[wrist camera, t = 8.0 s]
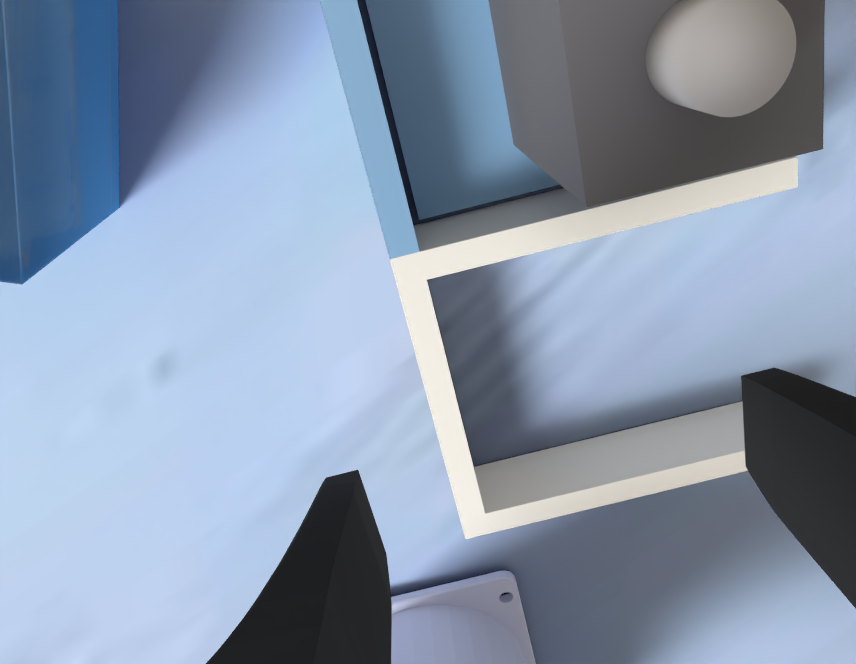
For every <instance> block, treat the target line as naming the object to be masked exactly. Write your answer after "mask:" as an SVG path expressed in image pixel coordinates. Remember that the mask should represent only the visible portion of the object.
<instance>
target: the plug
mask: <svg viewBox="0 0 856 664" xmlns="http://www.w3.org/2000/svg"><path fill="white" fill-rule="evenodd" d="M488 1H489V7H490V12H491V18H492V24H493V30H494V35H495V41H496V47H497V53H498V58H499V64H500V70H501V76H502V81H503V87H504V93H505V98H506V104H507V110H508V116H509V121H510V127H511V133H512V139H513V144H514V146H516V147H517V148H518V149H519V150H520V151H521V152H523V153H524V154H525V155H526V156H527V157H528V158H530V159H531V160H532V161H533V162H534V163H535V164H537V165H538V166H539V167H540V168H541V169H542V170H544V171H545V172H546V173H547V174H548V175H549V176H551V177H552V178H553V179H554V180H555V181H556V182H557V183H559V184H560V185H561V186H562V187H563V188H564V189H566V190H567V191H568V192H569V193H570V194H571V195H573V196H574V197H575V198H576V199H577V200H578V201H580V202H581V203H582V204H583V205H584V206H585V207H591V206H595V205H599V204H603V203H607V202H611V201H615V200H619V199H623V198H627V197H631V196H635V195H639V194H643V193H647V192H651V191H655V190H659V189H663V188H667V187H672V186H676V185H680V184H684V183H688V182H692V181H696V180H700V179H704V178H708V177H712V176H716V175H720V174H724V173H728V172H732V171H736V170H740V169H744V168H748V167H752V166H756V165H760V164H764V163H768V162H772V161H776V160H780V159H785V158H789V157H793V156H797V155H801V154H805V153H809V152H813V151H817V150H821V149H823V97H824V5H825V0H488Z"/></svg>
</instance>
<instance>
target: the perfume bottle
mask: <svg viewBox="0 0 856 664" xmlns="http://www.w3.org/2000/svg"><path fill="white" fill-rule="evenodd" d="M118 208H120V179H119V67H118V0H0V282H7V283H15V284H23V283H25V282H26V281H27V280H28V279H30V278H31V277H32V276H34V275H35V274H36V273H37V272H39V271H40V270H41V269H42V268H44V267H45V266H46V265H47V264H49V263H50V262H51V261H53V260H54V259H55V258H56V257H58V256H59V255H60V254H61V253H63V252H64V251H65V250H66V249H68V248H69V247H70V246H72V245H73V244H74V243H75V242H77V241H78V240H79V239H80V238H82V237H83V236H84V235H85V234H87V233H88V232H89V231H91V230H92V229H93V228H94V227H96V226H97V225H98V224H99V223H101V222H102V221H103V220H104V219H106V218H107V217H108V216H109V215H111V214H112V213H113V212H115V211H116V210H117V209H118Z"/></svg>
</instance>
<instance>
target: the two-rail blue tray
mask: <svg viewBox="0 0 856 664" xmlns="http://www.w3.org/2000/svg"><path fill="white" fill-rule="evenodd" d="M365 1H366V5H367V9H368V14H369V18H370V22H371V26H372V30H373V34H374V38H375V42H376V46H377V50H378V54H379V58H380V62H381V67H382V71H383V75H384V79H385V83H386V87H387V91H388V95H389V99H390V103H391V107H392V111H393V116H394V120H395V124H396V128H397V132H398V136H399V140H400V144H401V148H402V152H403V156H404V160H405V164H406V169H407V173H408V177H409V181H410V185H411V189H412V193H413V197H414V201H415V205H416V209H417V213H418V217H419V220H422V219H426V218H430V217H434V216H438V215H442V214H446V213H450V212H454V211H458V210H462V209H466V208H469V207H473V206H477V205H481V204H485V203H489V202H493V201H497V200H501V199H505V198H509V197H513V196H517V195H521V194H525V193H529V192H533V191H537V190H541V189H545V188H549V187H553V186H557V185H560V184H559V183H557V182H556V181H555V180H554V179H553V178H552V177H551V176H549V175H548V174H547V173H546V172H545V171H544V170H542V169H541V168H540V167H539V166H538V165H537V164H535V163H534V162H533V161H532V160H531V159H530V158H528V157H527V156H526V155H525V154H524V153H523V152H521V151H520V150H519V149H518V148H517V147H516V146H514V144H513V139H512V133H511V127H510V121H509V116H508V110H507V104H506V98H505V93H504V87H503V81H502V76H501V70H500V64H499V58H498V53H497V47H496V41H495V35H494V30H493V24H492V18H491V12H490V7H489V1H488V0H365ZM320 3H321V6H322V10H323V14H324V17H325V21H326V25H327V29H328V32H329V36H330V40H331V43H332V47H333V51H334V54H335V58H336V62H337V66H338V69H339V73H340V77H341V80H342V84H343V88H344V91H345V95H346V99H347V103H348V106H349V110H350V114H351V117H352V121H353V125H354V128H355V132H356V136H357V140H358V143H359V147H360V151H361V154H362V158H363V162H364V166H365V169H366V173H367V177H368V180H369V184H370V188H371V191H372V195H373V199H374V203H375V206H376V210H377V214H378V217H379V221H380V225H381V228H382V232H383V236H384V240H385V243H386V247H387V251H388V254H389V258H390V262H391V265H392V269H393V273H394V277H395V280H396V284H397V288H398V291H399V295H400V299H401V302H402V306H403V310H404V314H405V317H406V321H407V325H408V328H409V332H410V336H411V339H412V343H413V347H414V351H415V354H416V358H417V362H418V365H419V369H420V373H421V376H422V380H423V384H424V388H425V391H426V395H427V399H428V402H429V406H430V410H431V413H432V417H433V421H434V425H435V428H436V432H437V436H438V439H439V443H440V447H441V451H442V454H443V458H444V462H445V465H446V469H447V473H448V476H449V480H450V484H451V488H452V491H453V495H454V499H455V502H456V506H457V510H458V513H459V517H460V521H461V525H462V528H463V532H464V536H465V539H469V538H473V537H477V536H481V535H485V534H489V533H493V532H497V531H502V530H506V529H510V528H514V527H518V526H522V525H526V524H530V523H535V522H539V521H543V520H547V519H551V518H555V517H559V516H563V515H567V514H572V513H576V512H580V511H584V510H588V509H592V508H596V507H600V506H605V505H609V504H613V503H617V502H621V501H625V500H629V499H633V498H637V497H642V496H646V495H650V494H654V493H658V492H662V491H666V490H670V489H675V488H679V487H683V486H687V485H691V484H695V483H699V482H703V481H708V480H712V479H716V478H720V477H724V476H728V475H732V474H736V473H740V472H745V471H748V469H747V468H746V464H745V443H744V422H743V401H741V402H737V403H733V404H729V405H725V406H721V407H717V408H713V409H708V410H704V411H700V412H696V413H692V414H688V415H684V416H680V417H676V418H672V419H668V420H663V421H659V422H655V423H651V424H647V425H643V426H639V427H635V428H631V429H627V430H623V431H618V432H614V433H610V434H606V435H602V436H598V437H594V438H590V439H586V440H582V441H578V442H574V443H569V444H565V445H561V446H557V447H553V448H549V449H545V450H541V451H537V452H533V453H529V454H524V455H520V456H516V457H512V458H508V459H504V460H500V461H496V462H492V463H488V464H484V465H480V466H475V467H474V466H473V462H472V458H471V454H470V450H469V446H468V442H467V438H466V434H465V430H464V426H463V422H462V418H461V414H460V410H459V406H458V402H457V398H456V394H455V390H454V386H453V382H452V378H451V374H450V370H449V366H448V362H447V358H446V354H445V350H444V346H443V342H442V338H441V334H440V330H439V326H438V322H437V318H436V314H435V310H434V306H433V302H432V298H431V294H430V290H429V286H428V282H427V280H428V279H432V278H436V277H440V276H444V275H448V274H452V273H456V272H460V271H464V270H468V269H472V268H476V267H480V266H484V265H488V264H492V263H496V262H500V261H504V260H508V259H512V258H516V257H520V256H524V255H528V254H532V253H536V252H540V251H544V250H548V249H552V248H556V247H560V246H564V245H568V244H572V243H576V242H580V241H584V240H588V239H592V238H596V237H600V236H604V235H608V234H612V233H616V232H620V231H624V230H628V229H632V228H636V227H640V226H644V225H648V224H652V223H656V222H660V221H664V220H668V219H672V218H676V217H680V216H684V215H688V214H692V213H696V212H700V211H704V210H708V209H712V208H716V207H720V206H724V205H728V204H732V203H736V202H740V201H744V200H748V199H752V198H756V197H760V196H764V195H768V194H772V193H776V192H780V191H784V190H788V189H792V188H796V187H798V157H796V156H793V157H789V158H785V159H780V160H776V161H772V162H768V163H764V164H760V165H756V166H752V167H748V168H744V169H740V170H736V171H732V172H728V173H724V174H720V175H716V176H712V177H708V178H704V179H700V180H696V181H692V182H688V183H684V184H680V185H676V186H672V187H667V188H663V189H659V190H655V191H651V192H647V193H643V194H639V195H635V196H631V197H627V198H623V199H619V200H615V201H611V202H607V203H603V204H599V205H595V206H591V207H585V206H584V205H583V204H582V203H581V202H580V201H578V200H577V199H576V198H575V197H574V196H573V195H571V194H570V193H569V192H568V191H567V190H566V189H564V188H561V189H557V190H553V191H549V192H545V193H541V194H537V195H533V196H529V197H525V198H521V199H517V200H513V201H509V202H505V203H501V204H497V205H493V206H489V207H485V208H481V209H477V210H473V211H469V212H465V213H461V214H458V215H454V216H450V217H446V218H442V219H438V220H434V221H430V222H426V223H422V224H418V225H414V226H413V222H412V218H411V214H410V210H409V206H408V202H407V198H406V194H405V190H404V186H403V182H402V178H401V174H400V170H399V166H398V162H397V158H396V154H395V150H394V146H393V142H392V138H391V134H390V130H389V126H388V122H387V118H386V114H385V110H384V106H383V102H382V98H381V94H380V90H379V86H378V82H377V78H376V74H375V70H374V66H373V62H372V58H371V54H370V50H369V46H368V42H367V38H366V34H365V30H364V26H363V22H362V18H361V14H360V10H359V6H358V2H357V0H320Z"/></svg>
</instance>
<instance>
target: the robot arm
mask: <svg viewBox="0 0 856 664" xmlns="http://www.w3.org/2000/svg"><path fill="white" fill-rule="evenodd" d="M741 380H742V401H743V422H744V443H745V464H746V468H747V469H748V471H749V473H750V474H751V476H752V478H753V479H754V481H755V482H756V484H757V486H758V487H759V489H760V491H761V492H762V494H763V495H764V497H765V498H766V500H767V501H768V503H769V504H770V506H771V507H772V509H773V510H774V512H775V513H776V514H777V516H778V517H779V518H780V519H781V521H782V522H783V523H784V524H785V525H786V527H787V528H788V529H789V530H790V531H791V533H792V534H793V535H794V536H795V537H796V539H797V540H798V541H799V542H800V543H801V545H802V546H803V547H804V548H805V549H806V550H807V552H808V553H809V554H810V555H811V556H812V557H813V559H814V560H815V561H816V562H817V563H818V565H819V566H820V567H821V568H822V569H823V570H824V572H825V573H826V574H827V575H828V576H829V577H830V579H831V580H832V581H833V582H834V583H835V585H836V586H837V587H838V588H839V589H840V590H841V592H842V593H843V594H844V595H845V596H846V597H847V599H848V600H849V601H850V602H851V603H852V605H853V606H854V607H855V608H856V397H854V396H851V395H848V394H846V393H843V392H840V391H838V390H835V389H833V388H830V387H827V386H825V385H822V384H819V383H817V382H814V381H811V380H809V379H806V378H803V377H801V376H798V375H795V374H792V373H789V372H786V371H783V370H780V369H777V368H771V369H767V370H763V371H759V372H755V373H751V374H747V375H743V376H741ZM505 592H509V593H508V594H506V595H501V594H502V593H505ZM206 664H536V662H535V658H534V654H533V650H532V645H531V641H530V637H529V633H528V629H527V624H526V620H525V616H524V612H523V608H522V603H521V599H520V595H519V591H518V587H517V583H516V579H515V576H514V575H513V574H512V573H511V572H509V571H505V570H504V571H497V572H493V573H489V574H485V575H480V576H476V577H472V578H468V579H464V580H460V581H456V582H452V583H447V584H443V585H439V586H435V587H431V588H427V589H423V590H418V591H414V592H410V593H406V594H402V595H398V596H394V597H391V592H390V582H389V574H388V565H387V556H386V552H385V549H384V546H383V543H382V540H381V537H380V534H379V531H378V528H377V525H376V522H375V519H374V516H373V513H372V510H371V507H370V504H369V501H368V498H367V495H366V492H365V489H364V486H363V483H362V480H361V477H360V474H359V471H358V470H356V471H351V472H347V473H343V474H339V475H335V476H331V477H327V478H326V479H325V480H324V482H323V483H322V485H321V487H320V489H319V491H318V493H317V495H316V497H315V499H314V501H313V503H312V505H311V507H310V509H309V511H308V513H307V515H306V517H305V518H304V520H303V522H302V524H301V526H300V528H299V530H298V532H297V533H296V535H295V537H294V539H293V541H292V542H291V544H290V546H289V548H288V549H287V551H286V553H285V555H284V557H283V558H282V560H281V562H280V563H279V565H278V567H277V568H276V570H275V571H274V573H273V574H272V576H271V578H270V579H269V581H268V582H267V584H266V585H265V587H264V589H263V590H262V592H261V593H260V595H259V596H258V598H257V599H256V601H255V602H254V604H253V605H252V607H251V608H250V610H249V611H248V612H247V614H246V615H245V617H244V618H243V619H242V621H241V622H240V623H239V625H238V626H237V627H236V628H235V630H234V631H233V632H232V634H231V635H230V636H229V637H228V639H227V640H226V641H225V642H224V644H223V645H222V646H221V647H220V648H219V650H218V651H217V652H216V653H215V654H214V655H213V656H212V657H211V659H210V660H209V661H208V662H207V663H206Z"/></svg>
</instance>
